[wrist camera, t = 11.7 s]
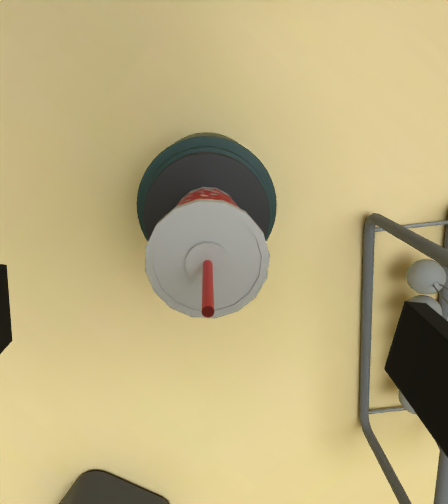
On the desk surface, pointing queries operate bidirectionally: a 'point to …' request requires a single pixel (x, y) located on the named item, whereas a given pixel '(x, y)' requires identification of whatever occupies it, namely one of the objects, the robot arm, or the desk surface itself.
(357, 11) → the desk surface
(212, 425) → the desk surface
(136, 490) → the streaming box
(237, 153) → the green lidded canister
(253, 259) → the beverage cup
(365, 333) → the newton's cradle
